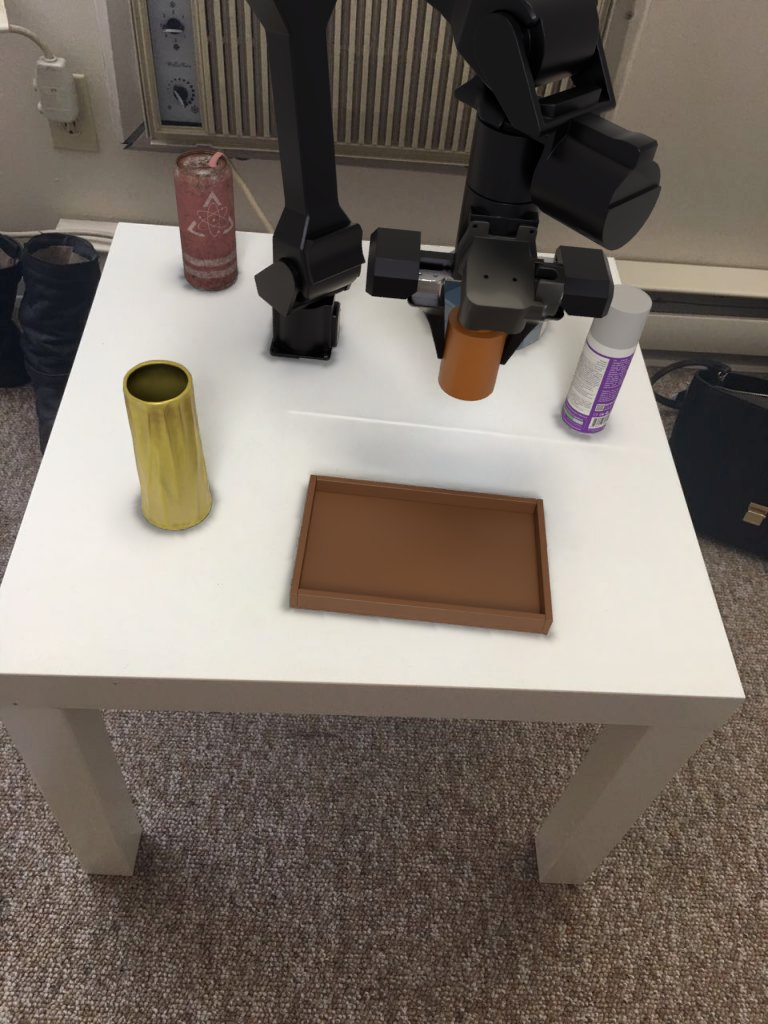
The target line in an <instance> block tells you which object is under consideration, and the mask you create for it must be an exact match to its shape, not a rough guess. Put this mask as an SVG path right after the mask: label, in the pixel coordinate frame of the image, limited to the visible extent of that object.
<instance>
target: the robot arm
mask: <svg viewBox="0 0 768 1024" xmlns="http://www.w3.org/2000/svg"><path fill="white" fill-rule="evenodd" d="M245 1H246V3H247V5H248V6H249V8H250V9H251V11H252V12H253V14H254V15H255V17H256V18H257V20H258V21H259V23H260V24H261V25H262V27H263V29H264V32H265V38H266V45H267V56H268V63H269V64H268V65H269V73H270V82H271V91H272V99H273V109H274V117H275V126H276V135H277V144H278V153H279V161H280V162H279V163H280V170H281V179H282V188H283V197H284V207H283V209H282V212H281V215H280V217H279V219H278V222H277V223H276V226H275V229H274V231H273V234H272V238H271V239H272V241H271V243H272V263H271V264H270V265H267V266H266V267H265V268H263V269H262V270H261V271H259V272H257V273H256V274H255V275H254V276H253V278H254V283H255V287H256V291H257V295H258V297H260V299H262V300H263V301H264V302H265V303H267V304H268V305H269V306H270V307H271V315H272V317H271V318H272V321H271V322H272V324H271V325H272V339H271V343H270V347H269V355H270V356H273V357H281V358H289V359H298V360H299V359H308V360H315V361H316V360H317V361H326V362H328V361H329V360H331V358H332V352H333V348H336V347H337V346H338V340H339V335H340V323H341V322H340V321H341V302H340V301H338V300H336V295H337V294H339V293H342V292H347V291H349V290H350V289H351V287H352V284H353V283H354V282H355V281H356V280H357V279H358V278H359V277H361V276H360V275H361V272H362V265H364V264H365V263H366V258H365V255H364V250H363V233H364V232H363V228H362V226H361V224H360V223H358V222H353V221H352V220H351V219H350V217H349V216H348V214H347V213H346V211H345V210H344V209H343V207H342V206H341V204H340V201H339V192H338V190H339V189H338V179H337V178H338V175H337V164H336V163H337V162H336V150H335V149H336V148H335V146H336V145H335V136H334V135H335V133H334V119H333V118H334V117H333V104H332V91H331V75H330V74H331V73H330V61H329V46H328V25H329V22H330V20H331V18H332V15H333V13H334V10H335V7H336V5H337V2H338V0H245ZM424 1H425V2H426V3H427V4H428V5H429V6H431V7H432V8H433V9H434V10H436V11H437V12H438V13H439V14H440V15H441V16H442V17H443V18H444V19H445V21H446V22H447V23H448V24H449V25H450V29H451V34H452V37H453V41H454V45H455V46H454V47H455V48H456V51H457V53H458V54H459V55H460V57H461V58H462V59H463V60H464V61H465V62H466V64H467V65H468V66H469V67H470V68H471V69H472V71H473V72H474V73H475V74H474V75H473V76H472V77H471V78H470V79H469V80H467V81H466V82H464V83H463V84H461V85H459V86H457V87H455V88H454V90H453V98H454V99H455V100H457V101H459V102H460V103H462V104H464V105H466V106H467V107H469V108H472V109H473V110H475V111H476V117H475V121H474V122H475V123H474V128H473V134H472V141H471V146H470V147H471V148H470V154H469V158H468V166H467V171H466V179H465V182H464V189H463V196H462V201H461V208H460V212H459V213H460V214H459V219H458V224H457V225H458V226H457V232H456V238H455V243H454V244H455V245H454V250H453V251H454V253H449V252H447V251H437V250H427V249H426V250H425V249H421V248H422V247H421V245H422V230H421V231H420V230H412V229H410V230H409V229H401V228H399V229H398V228H389V227H381V226H377V228H376V229H375V230H374V231H373V232H372V233H370V235H369V236H370V237H369V244H368V245H369V246H368V253H367V254H368V255H367V265H366V275H365V276H366V277H365V288H364V289H365V293H367V294H368V295H369V296H370V297H375V298H383V299H393V300H405V301H406V303H407V305H409V306H410V307H412V308H418V309H420V310H421V311H423V313H425V314H424V315H425V317H426V319H427V322H428V324H429V328H430V332H431V337H432V341H433V344H434V345H433V346H434V349H435V354H436V357H437V359H439V360H441V359H442V358H443V353H444V348H445V281H446V280H447V281H458V282H461V291H460V311H459V321H460V323H461V325H462V326H463V327H464V328H466V329H468V330H473V331H479V330H490V331H500V332H504V333H506V334H507V336H506V341H505V345H504V349H503V353H502V357H501V362H500V365H501V366H506V365H507V362H509V361H510V359H511V357H513V355H514V354H515V352H517V350H518V349H517V348H518V347H519V346H520V344H521V343H522V342H523V341H524V339H525V338H526V337H527V336H528V334H529V333H530V332H531V331H532V330H533V329H534V328H535V327H536V326H537V325H538V324H540V323H542V322H546V321H548V322H549V321H554V322H558V321H560V320H562V319H563V318H564V317H565V314H566V315H567V316H572V317H580V318H581V317H582V318H590V319H591V318H592V319H594V318H603V317H605V316H606V315H607V314H608V311H609V308H610V305H611V302H612V300H613V295H614V285H615V283H614V279H613V274H612V271H611V267H610V262H609V258H608V256H607V255H606V253H605V251H604V250H603V249H605V250H607V251H613V252H614V251H617V250H620V249H621V248H623V247H624V246H626V245H627V244H629V243H630V242H631V241H632V239H634V238H635V237H636V235H638V233H639V232H640V231H641V229H642V228H643V227H644V226H645V224H646V223H647V221H648V219H649V218H650V216H651V214H652V213H653V211H654V209H655V207H656V205H657V202H658V200H659V197H660V195H661V191H662V186H661V184H660V183H661V178H662V177H661V176H662V175H661V173H662V172H661V167H660V165H659V164H658V162H656V161H655V160H654V158H655V156H656V154H657V153H656V152H657V149H658V146H659V143H658V140H657V139H655V138H653V137H650V135H647V134H645V133H642V132H637V131H632V130H629V129H628V128H627V129H626V128H625V127H623V126H621V125H618V124H617V123H614V122H613V121H610V120H608V119H606V118H604V117H602V115H603V114H604V115H605V114H606V113H609V112H612V111H614V110H615V109H616V107H617V101H616V96H615V92H614V87H613V83H612V78H611V74H610V70H609V66H608V61H607V57H606V53H605V48H604V44H603V40H602V39H603V38H602V35H601V31H600V18H599V12H598V6H599V0H424ZM567 78H570V80H571V81H572V83H573V85H574V86H573V87H570V88H567V89H564V90H561V91H558V92H554V93H551V94H549V95H546V96H543V95H540V94H538V93H537V90H536V89H537V88H539V87H543V86H545V85H548V84H553V83H555V82H558V81H561V80H564V79H567ZM541 212H542V213H543V214H545V215H546V216H547V217H550V218H551V219H553V220H555V221H557V222H558V223H560V224H562V225H564V226H565V227H567V228H568V229H571V230H572V231H574V232H576V233H577V234H579V235H581V236H583V237H585V238H586V239H588V240H590V241H592V242H593V243H595V244H597V245H598V246H600V247H601V248H592V247H582V246H572V245H561V244H560V245H559V246H558V247H557V248H555V253H554V255H553V257H550V256H539V255H538V248H537V241H536V240H537V236H538V232H539V231H538V229H539V224H540V217H541Z"/></svg>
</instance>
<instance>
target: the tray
mask: <svg viewBox="0 0 768 1024" xmlns="http://www.w3.org/2000/svg"><path fill="white" fill-rule="evenodd" d="M306 492H307V493H306V497H305V503H304V509H303V515H302V521H301V526H300V534H299V538H298V544H297V550H296V556H295V560H294V561H295V562H294V567H293V572H292V579H291V584H290V590H289V608H290V609H299V610H300V609H301V610H308V611H309V610H310V611H317V612H318V611H319V612H329V613H340V614H349V615H358V616H368V617H378V618H386V619H396V620H404V621H405V620H407V621H416V622H426V623H433V624H435V623H436V624H443V625H444V624H445V625H453V626H463V627H472V628H482V629H483V628H484V629H492V630H501V631H510V632H511V631H512V632H521V633H529V634H530V633H531V634H541V635H548V634H549V631H550V629H551V627H552V625H553V622H554V615H553V602H552V591H551V579H550V566H549V565H550V564H549V556H548V554H549V553H548V543H547V531H546V519H545V506H544V499H543V498H535V497H534V498H533V497H524V496H523V497H522V496H515V495H505V494H497V493H488V492H478V491H470V490H460V489H449V488H441V487H432V486H423V485H422V486H421V485H415V484H414V485H413V484H404V483H394V482H386V481H375V480H367V479H358V478H349V477H340V476H339V477H338V476H330V475H319V474H309V481H308V487H307V491H306Z"/></svg>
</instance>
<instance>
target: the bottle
mask: <svg viewBox="0 0 768 1024" xmlns="http://www.w3.org/2000/svg"><path fill="white" fill-rule="evenodd" d="M459 311H460V304H459V305H457V306H455V307H454V308H453V309H452V310H451V311H450V313H449V316H448V321H447V327H446V333H445V348H444V353H443V358H442V359H440V363H439V370H438V376H437V383H438V385H439V388H440V389H441V390H442V391H443V392H444V393H445V394H446V395H448V396H449V397H451V398H454V399H456V400H459V401H464V402H476V401H482V400H484V399H486V398H488V397H490V396H491V395H492V394H493V392H494V390H495V387H496V383H497V378H498V374H499V371H500V362H501V357H502V353H503V349H504V345H505V341H506V336H507V334H506V333H504V332H500V331H490V330H479V331H473V330H468V329H466V328H464V327H463V326H462V325H461V323H460V321H459Z"/></svg>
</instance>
